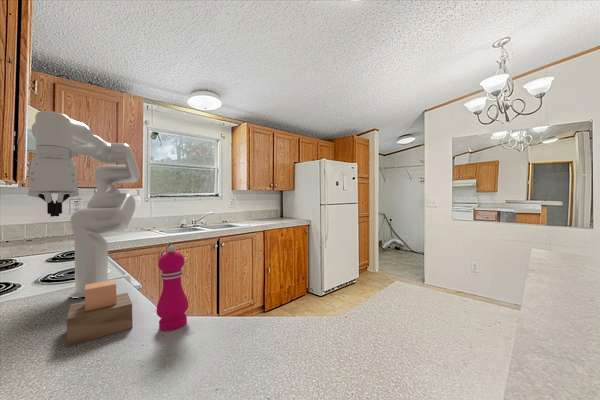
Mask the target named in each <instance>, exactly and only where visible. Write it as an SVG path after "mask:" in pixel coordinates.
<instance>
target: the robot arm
mask: <svg viewBox="0 0 600 400" xmlns="http://www.w3.org/2000/svg"><path fill="white" fill-rule="evenodd" d="M31 133H32V136H33V138H34V139H35V156H33V157H32V158H31V162H30V166H29V173H28V174H29V175H28V188H29V190H28V192H27V196H29V197H33V198H40V199H41V200H43V202H46V203H47V204H46V205H47V207H46V208H47V209H46V211H47V215H50V218H51V217H60V214H61V215H62V214H63V203H64V202H65V201H66V200H68V199H69V198H75V197H78V196H79V195H80V193H79V190H78V189H79V179H78V170H77V164H76V161H75V160H74V159H73V158H78V156H79V155H80V156H86V157H88V158H90V159H93V160H95V161H97V162H99V163H104V165H103V164H102V165H100V166H97V167H96V168H95V170H94V174H93V176H94V182H95V183H94V184H95V187H96V191H95V193H94V194H92V197H91V198H90V200H89V201H88V203H87V205H86V208H82V209H78V210H76V211H75V212H73V213H72V215H71V216H70V227H71V230H72V231H71V232H72V234H73V241H74V290H73V291H71V292H69V296H70V297H85V285H86V284H92V283H97V282H103V281H109V250H108V249H109V247H108V245H109V244H108V242H107V239H105V238H104V237H103V236H102V234H107V233H119V232H123V231H125V230H127V228H129V224H130V222H131V220H132V218H133V216H134V213H135V210H136V199H135V197H134V196H133V195H132V194H130V193H127V192H121V190H120V189H119V188H118V187H117V186H116V185H115V184H134V183H137V182H139V180H140V178H141V175H140V173H141V172H140V169H139V166H138V163H137V159H136V157H135V153H134V152H133V149H132V148H131V147H130V145H129V144H127V143H120V142H118V143H117V142H107V141H105V140H103V138H101V137H99V136H97V135H95V134H93V132H92V130H91V128H90V127H89V126H88V125H86V124H85V123H83V122H80V121H77V120H74V119H72V118H71V117H69V116H68V115H66V114H64V113H62V112H58V111H53V110H52V111H51V110H40V111H37V112H36V114H35V122H34V123H33V124H32V125H31ZM105 163H107V164H105ZM108 163H109V164H108ZM52 194H57V199H56V200H55V202H54V200H53V196H52ZM70 297H69V298H70Z"/></svg>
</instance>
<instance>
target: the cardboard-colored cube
mask: <svg viewBox="0 0 600 400" xmlns="http://www.w3.org/2000/svg"><path fill="white" fill-rule="evenodd" d="M116 295H117V282H116V280H115V279H110V280H109V279H108V281H103V282H97V283H92V284H86V285H85V298H84V302H85V311H87V310H92V309H96V308H100V307H105V306H109V305H114V304H116Z"/></svg>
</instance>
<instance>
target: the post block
mask: <svg viewBox="0 0 600 400" xmlns="http://www.w3.org/2000/svg"><path fill="white" fill-rule="evenodd" d="M133 325H134V324H133V302H132V300H131V298H130V296H129V293H128V292H124V293H123V292H122V293H119V294H116V304H114V305H109V306H105V307H100V308H96V309H92V310H87V311H85V301H79V302H75V303H70V305H69V310H68V313H67V316H66V347H70V346H75V345H77V344H81V343H84V342H88V341H91V340H96V339H99V338H102V337H105V336H110V335H112V334H116V333H120V332H123V331H126V330H130V329H133Z"/></svg>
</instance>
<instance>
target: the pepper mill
mask: <svg viewBox="0 0 600 400" xmlns="http://www.w3.org/2000/svg"><path fill="white" fill-rule="evenodd" d="M166 250H167V252H165V253H163V254H162V255H161V256H160V257H159V259H158V261H157V267H158V268H159V270H160V271H162V272H160V279H161V280H162V291H161V294H160V296H159V299H158V302H157V305H156V311H155V312H156V315H157V316H158V317H159V320H158V328H159V330H160V331H163V332H164V331H165V332H169V331H175V330H178V329H180V328H183V327H184V326H185V325H186V324H187V323H188V317H187V314H186V312H187V311H188V309H189V300H188V297H187V296H186V294H185V292H184V289H183V286H182V285H183V284H182V276H183V274H184V273H183V272H184V271H183V269H182V268H183V267H184V265H185V257H184V255H183V254H182V253H181V252H178V251H175V250H176V247H175V246H174V245H170V246H168V247H167V248H166Z"/></svg>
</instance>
